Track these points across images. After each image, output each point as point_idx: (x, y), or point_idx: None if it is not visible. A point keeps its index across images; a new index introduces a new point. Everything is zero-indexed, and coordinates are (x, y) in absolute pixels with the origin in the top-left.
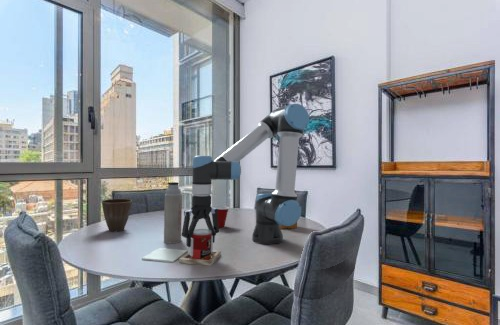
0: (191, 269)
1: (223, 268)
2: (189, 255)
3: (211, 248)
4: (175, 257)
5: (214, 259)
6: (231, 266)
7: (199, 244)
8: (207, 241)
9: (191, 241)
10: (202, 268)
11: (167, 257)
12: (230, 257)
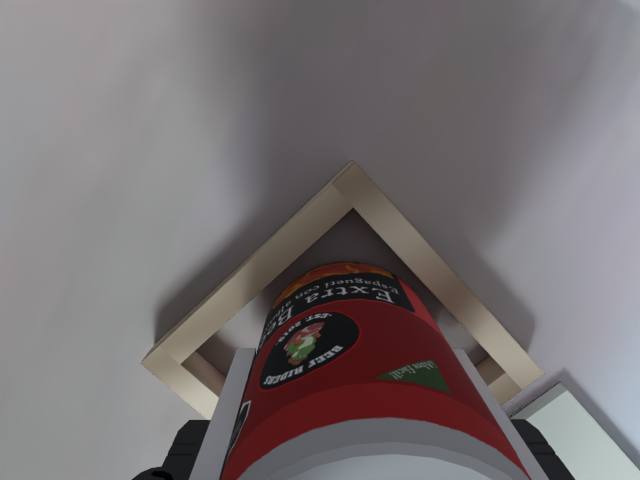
0: (526, 172)
1: (286, 30)
2: None
3: (243, 369)
4: None
5: (273, 236)
6: (196, 32)
7: (448, 357)
8: (348, 347)
9: (529, 453)
10: (441, 140)
11: None
12: (101, 245)
